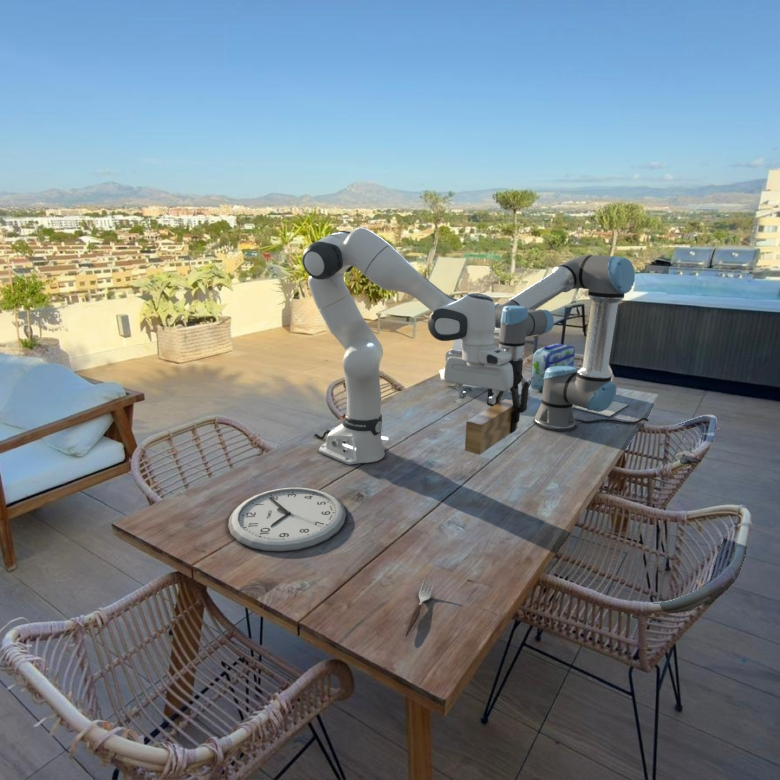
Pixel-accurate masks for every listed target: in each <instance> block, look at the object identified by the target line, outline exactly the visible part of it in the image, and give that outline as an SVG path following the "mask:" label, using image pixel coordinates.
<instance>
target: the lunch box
mask: <svg viewBox="0 0 780 780" xmlns="http://www.w3.org/2000/svg"><path fill="white" fill-rule="evenodd" d="M575 352H576V351H575V346H573V345H568V344H562V343H553V344H550V345H547V346H546V345H545V346H544V347H541V348H538V349H537V350H536V351H535V352H534V354H533V357H532V362H531V371H530V372H531V374H530V381H531V384H530V387H531V389H533V390H539V391H543V382H544V379H543V378H544V375H545V371H546V369H547V368H549V367H555V366H571V367H574V363H575Z"/></svg>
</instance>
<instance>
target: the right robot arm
mask: <svg viewBox="0 0 780 780" xmlns="http://www.w3.org/2000/svg"><path fill="white" fill-rule="evenodd" d="M635 271H636V270H635V268H634V265H633V263H632V261H631V260H630V259H629V258H627V257H623V256H617V255H595V254H594V255H593V254H584V255H579V256H576V257H573V258H571V259H569V260H566V261H564V262H563V263H561V264H559V265H557V266H556V267H554V268H553V269H552V270H551V273H550V274H548V275H546V276H545V277H543V278H542V279H540V280H539V281H537V282H536V283H534V284H532V285H531V286H529V287H527V288H526V289H524V290H523V291H521V292H519V293H518V294H516V295H514V296H513V297H512V298H510V299H508V300H507V301H505V302H503V303H501V304H500V303H494V305H495V316H496V321H495V329H498V328H500V335H499V341H498V342H499V343H498V348H500V349H502V350H504V351H506V352H508V353H510V354H511V360H510V361H509V363H510V364H511V365H512V368H513V386H512V388H511V389H510V390H509V393H510V394H511V395H510V396H511V400H512V402H513V409H514V412H512V413H511V424H510V434H513V433H515V432H516V431H517V429H516V423H519V422H520V418H521V414H523V413H524V412H526V411H527V409H528V399H529V398H528V397H529V396H528V390H529V389H530V387H531V379H529V380H527V379H526V378H525V379H523V376H522V371H523V369H524V368H523V367H524V360H523V358H524V357H525V346H526V345H525V344H526V337H533V336H541V335H544V334H547V333H549V332H550V331H552V329H553V327H554V325H555V318H554V315H553V314H552V313H551V311H549V310H548V309H540V307H542V306H543V305H545V304H547V303H548V302H549V301H552V300H553V299H554V298H556V297H558V296H559V295H560V294H562V293H568V292H571V291H572V290H576V289H583V290H588V291H587V297H588V298H589V299H590V300H591V302H590V311H589V316H588V324H587V331H586V339H585V346H584V352H583V359H582V366H581V367H580V368H579V369H578V368H577V367H576V366H573V367H571V366H555V367H549V368H547V369H546V371H545V375H544V378H543V379H544V382H543V390H541V391H542V394H541V402H540V405H539V407H538V410H537V411H536V413H535V416H534V424H535V425H536V426H537V427H539V428H542V429H544V430H549V431H556V432H567V431H572V430H574V429H575V428H576V422H579V423H585V424H591V423H598V422H612V423H619V424H625V425H635V424H638V423H640V422H642V421H646V422H650V421H649V419H648V418H646V417H642V418H640V419H638V420H636V421H625V420H618V419H612V418H599V419H594V420H584V419H580V418H575V417H576V416H575V413H574V407H573V406H575V407H576V406H580V407H583V408H586V409H588V410H593V411H597V412H601V411H604V410H605V409H607V408H608V407H609V406H610V404H611V403H612V401H614V400H615V398H616V394H617V384H616V383H615V382H614V381H612V373H611V372H610V371H609V364H610V358H611V352H612V346H613V339H614V333H615V327H616V321H617V314H618V307H619V303H620V302H621V301H622V300H624V299H625V294H628V293H629V292H630V291H631V290H632V288H633V286H634V284H635V279H636V274H635V273H636V272H635ZM521 383H522V384H521ZM519 384H520V385H521V393H520V394H519ZM504 392H505V391H500V393H499V394H498V395H497V397H496V403H495V404H489V403H488V401H489V400H488V398H489V397H491V396H493V394H494V393H492V389H488V388H487V396H486V405H487V406H490V407H492V406H494V405H496V404H498V403H499V402H501V401H502V398H503V395H504Z"/></svg>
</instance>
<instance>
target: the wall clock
mask: <svg viewBox="0 0 780 780" xmlns="http://www.w3.org/2000/svg"><path fill="white" fill-rule="evenodd" d="M346 518H347V513H346V509H345V506H344V505H343V503H341V501H340V500H339V499H338V498H336V497H334V496H332V495H331V494H330V493H327V492H324V491H321V490H318V489H313V488H308V487H283V488H277V489H272V490H267V491H264V492H261V493H258V494H255V495H253V496H252V497H250V498H248V499H246V500H244V501H243V502H242V503H240V504H239V505H238V506H237V507H236V508H234V510H233V511H232V513H231V514H230V516H229V518H228V524H227V528H228V530H229V532H230V535H231V536H232V538H234V539H235V540H236V541H237V542H238V543H239V544H242V545H244V546H246V547H249V548H251V549H256V550H261V551H266V552H287V551H288V552H289V551H299V550H302V549H306V548H310V547H313V546H316V545H318V544H320V543H323V542H325V541H328V540H329V539H330V538H332V537H333V536H334V535H336V534H337V533H339V531H340V530H341V528H342V527H343V526H344V524H345V521H346Z"/></svg>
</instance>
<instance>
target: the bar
mask: <svg viewBox="0 0 780 780" xmlns="http://www.w3.org/2000/svg"><path fill="white" fill-rule="evenodd" d="M512 412H514V409H513V402H512V399H508V398H505V399H503V400H501V401H500V402H499V403H498V404H496V405H494V406H492V407H491V406H490V407H488V408H486V409H485V410H484V411H482V412H480V413H478V414H476V415H474V416H473V417H470V418H469V419H468V420H466V422H465V423H466V425H465V426H466V427H465V441H464V451H465V452H469V453H472V454H475V455H478V456H481V455H482V454H483V453H485V452H486V451H487V450H489V449H490V448H492V447H493V446H495V445H496V444H498V443H499V442H501V441H502V440H503V439H505V438H506V437H508V436H509V435H510V434H511V433H510V424H511V413H512ZM518 423H519V422H518ZM518 423H516V430H517V429H518Z"/></svg>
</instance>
